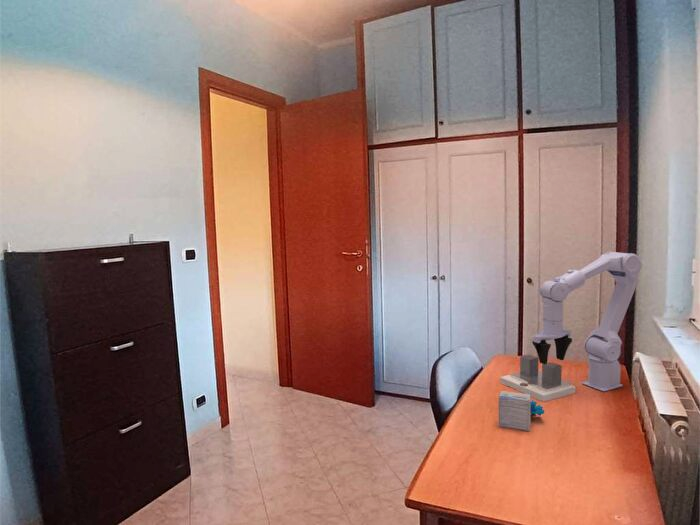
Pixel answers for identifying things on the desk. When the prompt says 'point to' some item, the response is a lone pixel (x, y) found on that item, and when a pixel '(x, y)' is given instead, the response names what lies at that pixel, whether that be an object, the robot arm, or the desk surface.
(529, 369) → the block
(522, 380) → the kitchen scale
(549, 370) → the block
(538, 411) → the gear
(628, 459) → the desk surface
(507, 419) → the medicine box
